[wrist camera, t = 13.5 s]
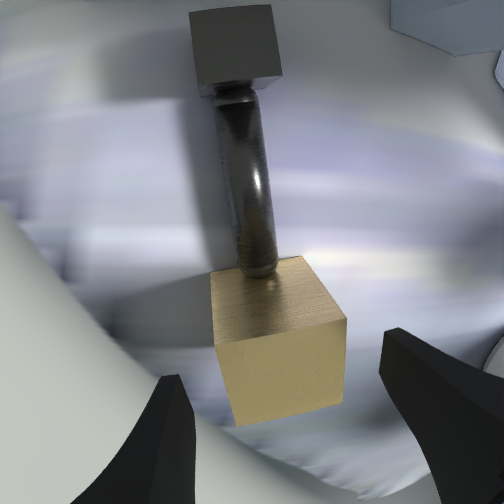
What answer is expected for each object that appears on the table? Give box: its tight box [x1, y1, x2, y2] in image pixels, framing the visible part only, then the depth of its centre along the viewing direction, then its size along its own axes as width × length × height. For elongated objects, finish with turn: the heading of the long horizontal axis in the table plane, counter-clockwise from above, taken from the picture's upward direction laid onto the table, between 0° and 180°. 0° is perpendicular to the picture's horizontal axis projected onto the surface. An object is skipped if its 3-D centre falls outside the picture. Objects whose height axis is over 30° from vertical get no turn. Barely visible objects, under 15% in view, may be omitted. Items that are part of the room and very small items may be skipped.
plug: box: [189, 4, 347, 426], centre depth 10 cm, size 14×4×5 cm, turn 8°
